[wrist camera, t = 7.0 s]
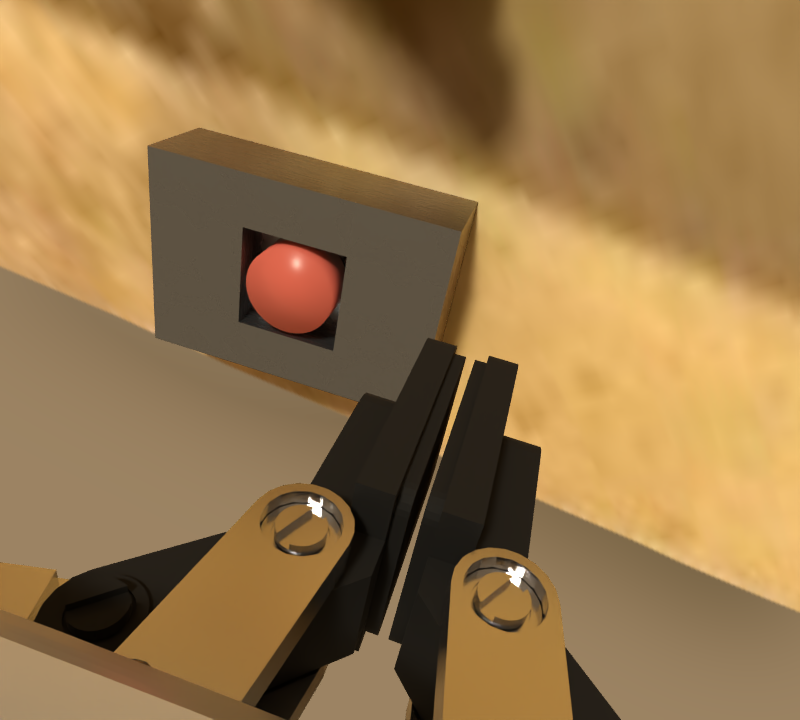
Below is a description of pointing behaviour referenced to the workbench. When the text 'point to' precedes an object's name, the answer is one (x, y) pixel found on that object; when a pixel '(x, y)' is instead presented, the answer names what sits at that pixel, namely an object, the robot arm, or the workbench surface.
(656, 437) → the workbench surface
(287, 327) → the button
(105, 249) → the workbench surface
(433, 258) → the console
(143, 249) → the workbench surface
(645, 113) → the workbench surface
